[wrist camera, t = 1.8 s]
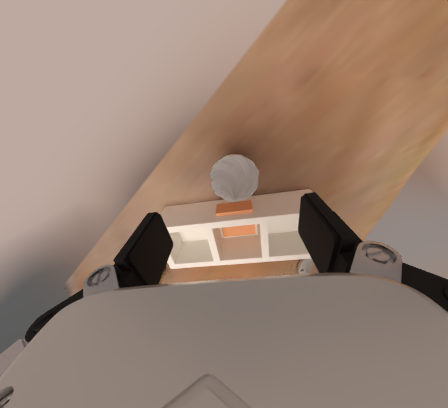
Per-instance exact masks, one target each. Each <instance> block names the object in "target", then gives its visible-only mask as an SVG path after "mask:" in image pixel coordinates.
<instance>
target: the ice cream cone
mask: <svg viewBox="0 0 448 408" xmlns="http://www.w3.org/2000/svg"><path fill="white" fill-rule="evenodd" d="M209 176H210V178H211V181H212V183H211V188H212V190H213V191H214V192H215V194H216V195H217V196H219V197H222V198H223V199H224V200H226V201H229V202H237V201H242V200H243V199H246V198H248V197H250V196H251V195H253V193H254V192H255V190H256V189H257V187H258V186H259V183H258V176H259V171H258V169H257V167H256V166H255V164H254V162H253V161H251V160H249V159H248V158H247V157H245V156H243V155H237V154H232V155H227V156H225V157H223V158H221V159H220V160H218V161H217V163H216V164H214V166H213V168H212V170H211V172H210V174H209Z"/></svg>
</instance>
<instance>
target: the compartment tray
mask: <svg viewBox="0 0 448 408" xmlns="http://www.w3.org/2000/svg"><path fill="white" fill-rule="evenodd" d="M312 192H313V191H312V190H311V189H304V190H296V191H288V192H280V193H272V194H264V195H256V196H250V197H248V198H246V199H243V200H242V201H237V202H229V201H226V200H224V199H223V200H215V201H207V202H199V203H190V204H182V205H174V206H166V207H165V208H164V210H163V211H162V213H161V214H160V215H161V216H162V218H163V221H164V223H165V225H166V227H167V230H168V232H169V234H170V236H171V239H172V241H173V248H172V251H171V253H170V256H169V259H168V261H167V262H168V264H169V266H170V268H171V269H175V268H188V267H202V266H216V265H229V264H243V263H256V262H270V261H283V260H297V259H310V258H311V256H310V254H309V253H308V251H307V249H306V247H305V245H304V243H303V241H302V239H301V237H300V235H299V233H298V222H299V211H300V200H301V196H304V194H305V193H312Z"/></svg>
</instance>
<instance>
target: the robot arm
mask: <svg viewBox="0 0 448 408" xmlns="http://www.w3.org/2000/svg"><path fill="white" fill-rule="evenodd" d="M298 233H299V235H300V237H301V239H302V241H303V243H304V245H305V247H306V249H307V251H308V253H309V254H310V256H311V258H310V259H301V260H300V261H299V263H298V267H297V269H298V273H299V274H292V275H278V276H263V277H248V278H235V279H221V280H207V281H194V282H181V283H169V284H159V282H160V279H161V277H162V274H163V271H164V269H165V266H166V264H167V261H168V259H169V256H170V253H171V251H172V248H173V241H172V239H171V236H170V234H169V232H168V230H167V227H166V225H165V223H164V221H163V218H162V216H161V215H160V214H158V213H157V212H153V213H148V214H147V215H146V216H145V218H144V219H143V220H142V222H141V223H140V224H139V226H138V227H137V229H136V230H135V231H134V233H133V234H132V235H131V237H130V238H129V239H128V241H127V242H126V244H125V245H124V246H123V248H122V249H121V250H120V252H119V253H118V254H117V256H116V257H115V259H114V260H113V261H114V262H115V264H114V265H104V266H102V267H99V268H98V269H96V270H94V271H93V272H92V273H91V274H90V275H89V276H88V277H87V278H86V280H85V281H84V285H83V289H82V290H81V291H79V292H77V293H76V294H74V295H73V296H71V297H69V298H68V299H67V300H65V301H63V302H61V303H60V304H59V305H57V306H55V307H54V308H52V309H51V310H49V311H47V312H46V313H44V314H43V315H41V316H40V317H39V318H37V320H35V322H34V323H33V324H32V325H31V327H30V328H29V329H28V331H27V332H26V335H25V339H24V340H22V339H19V340H18V341H16V342H15V343H14V344H13V345H11V346H10V347H9V348H8V349H7V350H5V351H4V352H3V353H2V354H0V408H448V279H445V278H442V277H440V276H437V275H434V274H432V273H429V272H426V271H424V270H421V269H418V268H416V267H413V266H410V265H408V264H405V263H402V259H401V256H400V255H399V253H398V252H397V251H396V250H394V249H393V248H391V247H389V246H388V245H385V244H383V243H380V242H375V241H364V242H363V241H362V240H361V239H360V238H359V237H358V236H357V235H356V234H355V233H354V232H353V231H352V230H351V229H350V228H349V227H348V226H347V224H346V223H345V222H344V221H343V220H342V219H341V218H340V217H339V216H338V215H337V214H336V213H335V212H333V211H332V210H331V209H330V208H329V207H328V206H327V205H326V203H325V202H324V201H323V200H322V199H321V198H320V197H319V196H318V195H317V194H316V193H315V192H312V193H305V194H304V196H301V200H300V211H299V222H298Z"/></svg>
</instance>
